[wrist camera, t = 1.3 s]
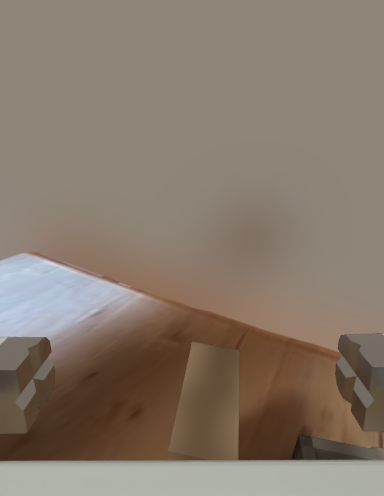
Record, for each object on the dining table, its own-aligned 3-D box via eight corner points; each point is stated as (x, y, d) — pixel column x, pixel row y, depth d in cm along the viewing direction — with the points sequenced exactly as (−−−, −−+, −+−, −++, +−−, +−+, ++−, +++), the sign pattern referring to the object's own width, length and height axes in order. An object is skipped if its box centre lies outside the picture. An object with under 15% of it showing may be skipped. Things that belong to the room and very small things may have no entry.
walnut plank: (152, 584, 24) (168, 450, 19) (176, 455, 34) (192, 341, 28) (206, 597, 24) (238, 465, 19) (216, 464, 33) (239, 350, 28)
